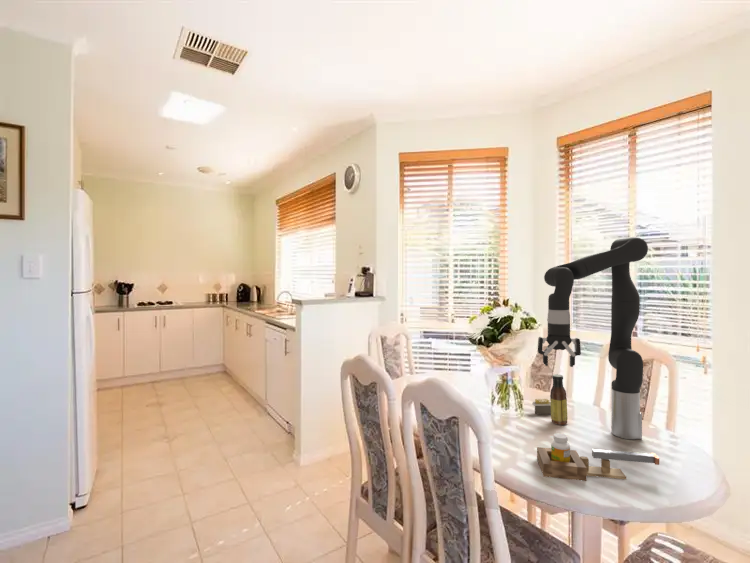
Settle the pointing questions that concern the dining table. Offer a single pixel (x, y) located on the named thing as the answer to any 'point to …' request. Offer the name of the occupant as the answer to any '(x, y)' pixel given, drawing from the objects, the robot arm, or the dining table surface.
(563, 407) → the sauce bottle
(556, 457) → the supplement bottle
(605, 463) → the mount
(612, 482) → the dining table surface
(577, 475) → the socket
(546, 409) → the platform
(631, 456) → the grey bar
